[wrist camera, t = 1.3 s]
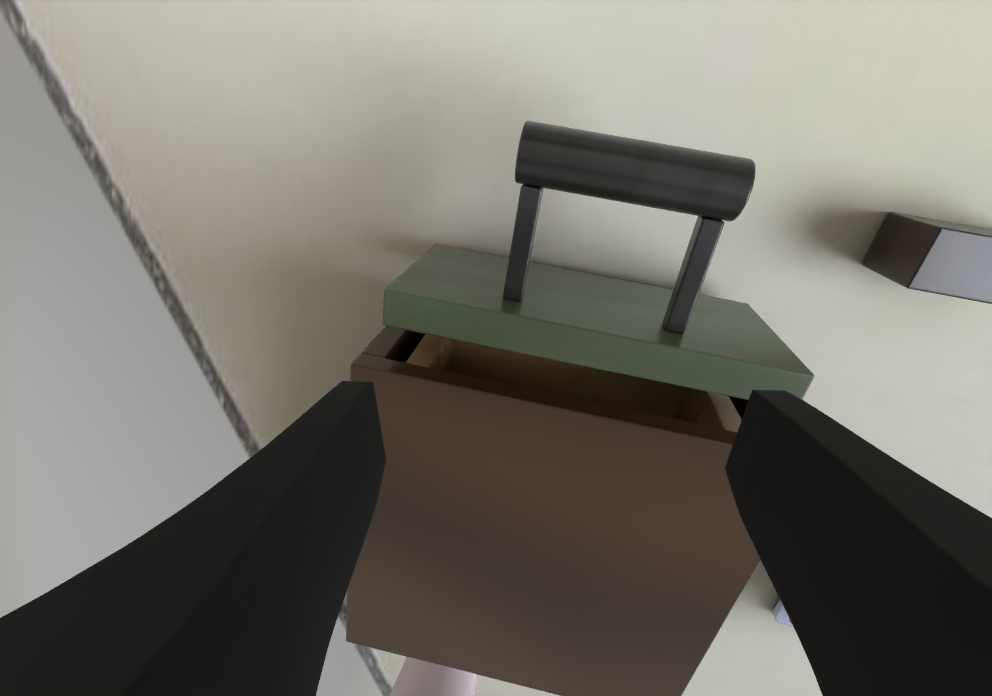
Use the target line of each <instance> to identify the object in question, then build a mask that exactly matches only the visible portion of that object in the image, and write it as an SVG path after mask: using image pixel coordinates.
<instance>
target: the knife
mask: <svg viewBox="0 0 992 696" xmlns="http://www.w3.org/2000/svg"><path fill="white" fill-rule="evenodd" d="M862 265H863V266H865V267H867V268H869V269H871V270H873V271H875V272H877V273H879V274H880V275H882V276H884V277H886V278H888V279H890V280H892V281H894V282H896V283H898V284H900V285H902V286H904V287H906V288H909V289H914V290H920V291H925V292H931V293H936V294H941V295H947V296H952V297H958V298H963V299H968V300H974V301H979V302H985V303H990V304H992V230H991V229H985V228H979V227H974V226H968V225H962V224H956V223H951V222H945V221H939V220H934V219H928V218H922V217H916V216H911V215H905V214H899V213H894V212H889V213H888V215H887V216H886V218H885V220H884V222H883V224H882V226H881V228H880V230H879V232H878V234H877V236H876V238H875V240H874V242H873V244H872V246H871V248H870V250H869V252H868V254H867V256H866V258H865V259H864V261H863V263H862Z"/></svg>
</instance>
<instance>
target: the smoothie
mask: <svg viewBox="0 0 992 696" xmlns="http://www.w3.org/2000/svg"><path fill="white" fill-rule="evenodd" d="M475 682H476V674H474V673H470V672H466V671H462V670H458V669H454V668H450V667H446V666H442V665H438V664H434V663H430V662H426V661H422V660H418V659H414V658H410V657H407V658H406V660H405V662H404V664H403V667H402V669H401V671H400V673H399V676H398V678H397V680H396V682H395V685H394V687H393V689H392V691H391V693H390V696H475Z"/></svg>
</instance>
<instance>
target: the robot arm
mask: <svg viewBox="0 0 992 696" xmlns="http://www.w3.org/2000/svg"><path fill="white" fill-rule="evenodd" d="M385 463H386V456H385V449H384V443H383V437H382V431H381V425H380V419H379V413H378V407H377V401H376V395H375V389H374V383H373V382H358V381H342V382H341V383H339V384H338V385H337V386H336V387H334V388H333V389H332V390H331V391H330V392H328V393H327V394H326V395H325V396H324V397H323V398H322V399H320V400H319V401H318V402H317V403H316V404H315V405H313V406H312V407H311V408H310V409H309V410H308V411H307V412H305V413H304V414H303V415H302V416H301V417H300V418H298V419H297V420H296V421H295V422H294V423H292V424H291V425H290V426H289V427H288V428H287V429H285V430H284V431H283V432H282V433H281V434H279V435H278V436H277V437H276V438H275V439H273V440H272V441H271V442H270V443H269V444H267V445H266V446H265V447H264V448H263V449H261V450H260V451H259V452H258V453H256V454H255V455H254V456H252V457H251V458H250V459H249V460H247V461H246V462H245V463H243V464H242V465H241V466H239V467H238V468H237V469H236V470H234V471H233V472H232V473H230V474H229V475H228V476H226V477H225V478H224V479H223V480H221V481H220V482H219V483H217V484H216V485H215V486H214V487H212V488H211V489H210V490H208V491H207V492H205V493H204V494H203V495H201V496H200V497H198V498H197V499H196V500H194V501H193V502H192V503H190V504H189V505H187V506H186V507H184V508H183V509H181V510H180V511H178V512H177V513H176V514H174V515H173V516H171V517H170V518H168V519H166V520H165V521H163V522H162V523H161V524H159V525H157V526H156V527H154V528H153V529H151V530H150V531H148V532H147V533H145V534H144V535H142V536H141V537H139V538H137V539H136V540H134V541H133V542H131V543H130V544H128V545H126V546H125V547H123V548H122V549H120V550H118V551H116V552H115V553H113V554H111V555H110V556H108V557H106V558H105V559H103V560H101V561H99V562H98V563H96V564H94V565H93V566H91V567H89V568H88V569H86V570H84V571H83V572H81V573H79V574H77V575H76V576H74V577H72V578H71V579H69V580H67V581H66V582H64V583H62V584H60V585H59V586H57V587H55V588H54V589H52V590H50V591H49V592H47V593H45V594H44V595H42V596H40V597H38V598H36V599H34V600H33V601H31V602H29V603H27V604H25V605H23V606H22V607H20V608H18V609H16V610H14V611H12V612H10V613H9V614H7V615H5V616H3V617H1V618H0V696H316V692H317V688H318V684H319V680H320V676H321V672H322V668H323V665H324V661H325V657H326V653H327V648H328V646H329V642H330V639H331V636H332V633H333V629H334V626H335V622H336V620H337V617H338V614H339V611H340V608H341V606H342V603H343V600H344V597H345V594H346V591H347V589H348V586H349V583H350V580H351V577H352V574H353V572H354V569H355V566H356V563H357V560H358V558H359V555H360V552H361V549H362V546H363V543H364V540H365V538H366V535H367V532H368V529H369V526H370V523H371V520H372V517H373V514H374V511H375V508H376V505H377V500H378V496H379V491H380V487H381V482H382V477H383V473H384V468H385ZM725 471H726V474H727V477H728V480H729V484H730V487H731V490H732V493H733V497H734V499H735V502H736V505H737V508H738V511H739V514H740V517H741V519H742V521H743V523H744V526H745V528H746V530H747V532H748V534H749V536H750V538H751V540H752V542H753V545H754V547H755V549H756V551H757V553H758V555H759V557H760V559H761V561H762V563H763V565H764V567H765V569H766V571H767V573H768V575H769V578H770V580H771V582H772V584H773V586H774V588H775V590H776V592H777V594H778V596H779V598H780V600H779V602H778V603H777V605H776V607H775V608H774V610H773V616H774V618H775V620H776V621H777V622H778V623H781V624H785V625H789V626H793V627H794V629H795V631H796V633H797V635H798V637H799V639H800V641H801V644H802V646H803V648H804V650H805V653H806V655H807V657H808V659H809V662H810V664H811V666H812V669H813V671H814V674H815V676H816V679H817V682H818V684H819V687H820V690H821V692H822V695H823V696H992V518H990V517H989V516H987V515H985V514H984V513H982V512H980V511H978V510H977V509H975V508H973V507H972V506H970V505H968V504H967V503H965V502H963V501H962V500H960V499H958V498H956V497H955V496H953V495H951V494H950V493H948V492H946V491H945V490H943V489H941V488H940V487H938V486H936V485H935V484H933V483H932V482H930V481H928V480H927V479H925V478H924V477H922V476H920V475H919V474H917V473H915V472H914V471H912V470H911V469H909V468H908V467H906V466H904V465H903V464H901V463H900V462H898V461H896V460H895V459H893V458H892V457H890V456H889V455H887V454H886V453H884V452H882V451H881V450H879V449H878V448H876V447H875V446H873V445H872V444H870V443H869V442H867V441H865V440H864V439H862V438H861V437H859V436H858V435H856V434H855V433H853V432H852V431H850V430H849V429H847V428H846V427H844V426H842V425H841V424H839V423H838V422H836V421H835V420H833V419H832V418H830V417H829V416H827V415H825V414H824V413H822V412H821V411H819V410H818V409H816V408H814V407H813V406H811V405H810V404H808V403H806V402H805V401H803V400H801V399H800V398H798V397H796V396H794V395H793V394H791V393H789V392H787V391H785V390H752V391H751V394H750V397H749V400H748V403H747V406H746V409H745V412H744V414H743V417H742V420H741V423H740V426H739V429H738V432H737V435H736V437H735V440H734V443H733V446H732V449H731V452H730V455H729V458H728V460H727V463H726V466H725Z"/></svg>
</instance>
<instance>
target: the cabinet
mask: <svg viewBox="0 0 992 696" xmlns="http://www.w3.org/2000/svg"><path fill="white" fill-rule="evenodd" d="M424 336H425V334H424V333H419V332H414V331H409V330H404V329H399V328H394V327H390V326H386V327H385V328H384V329H383V330H382V331H381V332H380V333H379V334H378V335H377V337H376V338H375V339H374V340H373V341H372V342H371V343H370V344H369V345H368V346H367V347H366V348H365V350H364V351H363V352H362V354H360V355H359V356H358V357H357V358H356V359H355V361H354V362H353V363H352V364H351V381H358V382H373V383H374V389H375V395H376V401H377V407H378V413H379V419H380V425H381V431H382V437H383V443H384V449H385V456H386V463H385V468H384V473H383V477H382V482H381V487H380V491H379V496H378V500H377V505H376V508H375V511H374V514H373V517H372V520H371V523H370V526H369V529H368V532H367V535H366V538H365V540H364V543H363V546H362V549H361V552H360V555H359V558H358V560H357V563H356V566H355V569H354V572H353V574H352V577H351V580H350V583H349V586H348V589H347V627H346V641H347V642H351V643H355V644H359V645H363V646H367V647H371V648H375V649H379V650H383V651H387V652H391V653H395V654H399V655H403V656H407V657H410V658H414V659H418V660H422V661H426V662H430V663H434V664H438V665H442V666H446V667H450V668H454V669H458V670H462V671H466V672H470V673H474V674H478V675H482V676H486V677H490V678H494V679H498V680H502V681H505V682H509V683H513V684H517V685H521V686H525V687H529V688H533V689H537V690H541V691H545V692H549V693H553V694H557V695H561V696H681V695H682V694H683V692H684V690H685V688H686V687H687V685H688V683H689V681H690V680H691V678H692V676H693V675H694V673H695V671H696V669H697V668H698V666H699V664H700V662H701V661H702V659H703V657H704V656H705V654H706V652H707V650H708V649H709V647H710V645H711V643H712V642H713V640H714V638H715V637H716V635H717V633H718V631H719V630H720V628H721V626H722V624H723V623H724V621H725V619H726V618H727V616H728V614H729V612H730V611H731V609H732V607H733V605H734V604H735V602H736V600H737V599H738V597H739V595H740V593H741V592H742V590H743V588H744V586H745V585H746V583H747V581H748V580H749V578H750V576H751V574H752V573H753V571H754V569H755V567H756V566H757V564H758V562H759V561H760V557H759V555H758V553H757V551H756V549H755V547H754V545H753V542H752V540H751V538H750V536H749V534H748V532H747V530H746V528H745V526H744V523H743V521H742V519H741V517H740V514H739V511H738V508H737V505H736V502H735V499H734V497H733V493H732V490H731V487H730V484H729V480H728V477H727V474H726V471H725V466H726V463H727V460H728V458H729V455H730V452H731V449H732V446H733V443H734V440H735V437H736V435H737V432H734V431H729V430H724V429H719V428H715V427H710V426H705V425H700V424H695V423H691V422H686V421H681V420H676V419H672V418H667V417H662V416H657V415H652V414H648V413H643V412H638V411H633V410H629V409H624V408H619V407H614V406H610V405H605V404H600V403H595V402H590V401H586V400H581V399H576V398H571V397H567V396H562V395H557V394H552V393H548V392H543V391H538V390H533V389H528V388H524V387H519V386H514V385H509V384H505V383H500V382H495V381H490V380H486V379H481V378H476V377H471V376H466V375H462V374H457V373H452V372H447V371H443V370H438V369H433V368H428V367H424V366H419V365H414V364H409V363H406V361H407V360H408V359H409V357H410V356H411V354H412V353H413V351H414V350H415V349H416V347H417V346H418V344H419V343H420V341H421V340H422V339H423V337H424ZM729 397H730V399H731V401H732V403H733V405H734V407H735V408H736V410H737V412H738V414H739V416H740V417H741V419H742V417H743V414H744V412H745V409H746V406H747V403H748V400H746V399H741V398H736V397H731V396H729Z"/></svg>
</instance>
